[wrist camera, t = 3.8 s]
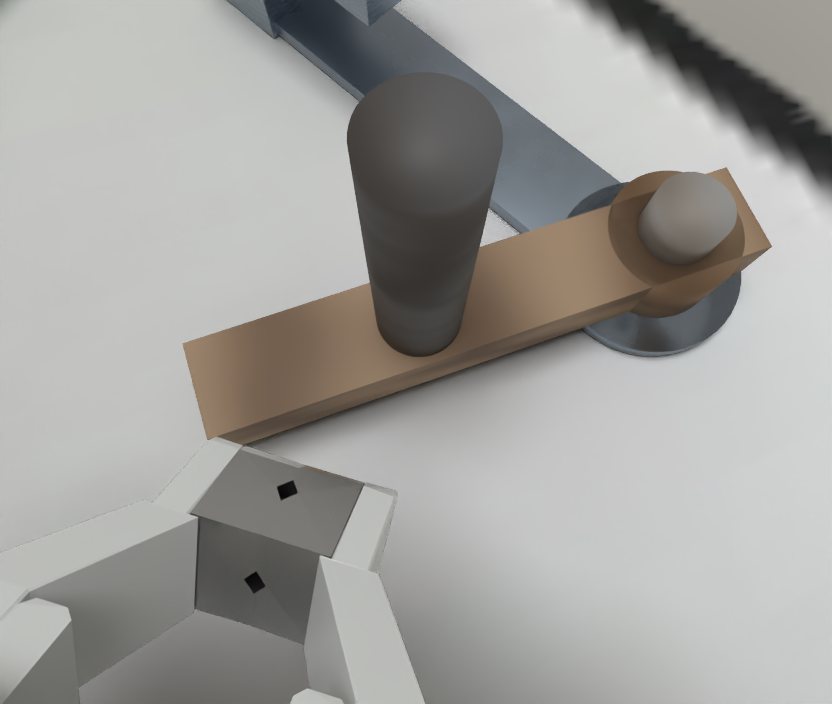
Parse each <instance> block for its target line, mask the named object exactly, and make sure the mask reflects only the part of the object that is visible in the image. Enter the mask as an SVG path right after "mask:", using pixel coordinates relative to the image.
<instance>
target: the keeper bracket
mask: <svg viewBox="0 0 832 704" xmlns="http://www.w3.org/2000/svg"><path fill="white" fill-rule="evenodd" d="M228 1H229V2H230V3H231V4H233V5H234V6H235V7H236V8H237V9H239V10H240V11H241V12H242V13H244V14H245V15H246V16H247V17H248V18H250V19H251V20H252V21H253V22H255V23H256V24H257V25H258V26H259V27H261V28H262V29H263V30H264V31H265V32H267V33H268V34H269V35H270V36H272V37H273V38H276V37H277V36H278V35H279V36H281V37H282V38H283V39H284V40H286V41H287V42H288V43H289V44H290V45H292V46H293V47H294V48H295V49H297V50H298V51H299V52H300V53H301V54H303V55H304V56H305V57H306V58H308V59H309V60H310V61H311V62H312V63H314V64H315V65H316V66H317V67H319V68H320V69H321V70H322V71H323V72H325V73H326V74H327V75H328V76H330V77H331V78H332V79H333V80H334V81H336V82H337V83H338V84H339V85H341V86H342V87H343V88H344V89H345V90H347V91H348V92H349V93H350V94H352V95H353V96H354V97H355V98H356V99H358V100H359V101H361V100H362V99H363V97H364V96H365V95H366V94H367V93H368V92H370V91H371V90H372V89H373V88H375V87H376V86H378V85H379V84H381V83H383V82H385V81H387V80H389V79H391V78H394V77H397V76H399V75H404V74H408V73H416V72H433V73H440V74H445V75H449V76H452V77H455V78H458V79H460V80H462V81H464V82H466V83H468V84H470V85H471V86H473V87H474V88H476V89H477V90H478V91H480V92H481V93H482V94H483V95H484V96H485V97H486V98H487V99H488V100H489V102H490V103H491V104H492V106H493V107H494V109H495V111H496V113H497V114H498V117H499V120H500V122H501V126H502V131H503V148H502V153H501V157H500V161H499V166H498V170H497V174H496V178H495V183H494V187H493V191H492V195H491V200H490V204H489V207H490V208H491V209H492V210H493V211H494V212H496V213H497V214H498V215H499V216H501V217H502V218H503V219H504V220H505V221H507V222H508V223H509V224H510V225H512V226H513V227H514V228H515V229H516V230H518V231H519V232H520V233H521V234H522V233H525V232H529V231H532V230H535V229H538V228H541V227H544V226H547V225H550V224H553V223H556V222H559V221H562V220H566V219H569V218H572V217H575V216H578V215H581V214H584V213H587V212H590V211H593V210H596V209H600V208H603V207H606V206H609V205H611V204H612V202H613V201H614V199H615V197H616V196H617V194H618V193H619V192H620V191H621V190H622V189H623V188H624V187H625V186H626V185H627V184H628V183H630V182H625V183H620V182H619V181H618V180H616V179H615V178H614V177H612V176H611V175H610V174H609V173H607V172H606V171H605V170H603V169H602V168H601V167H599V166H598V165H597V164H595V163H594V162H593V161H592V160H590V159H589V158H588V157H586V156H585V155H584V154H582V153H581V152H580V151H578V150H577V149H576V148H575V147H573V146H572V145H571V144H569V143H568V142H567V141H565V140H564V139H563V138H561V137H560V136H559V135H558V134H556V133H555V132H554V131H552V130H551V129H550V128H548V127H547V126H546V125H545V124H543V123H542V122H541V121H539V120H538V119H537V118H535V117H534V116H533V115H531V114H530V113H529V112H528V111H526V110H525V109H524V108H522V107H521V106H520V105H518V104H517V103H516V102H514V101H513V100H512V99H511V98H509V97H508V96H507V95H505V94H504V93H503V92H501V91H500V90H499V89H498V88H496V87H495V86H494V85H492V84H491V83H490V82H488V81H487V80H486V79H484V78H483V77H482V76H481V75H479V74H478V73H477V72H475V71H474V70H473V69H471V68H470V67H469V66H467V65H466V64H465V63H464V62H462V61H461V60H460V59H458V58H457V57H456V56H454V55H453V54H452V53H451V52H449V51H448V50H447V49H445V48H444V47H443V46H441V45H440V44H439V43H437V42H436V41H435V40H434V39H432V38H431V37H430V36H428V35H427V34H426V33H424V32H423V31H422V30H420V29H419V28H418V27H417V26H415V25H414V24H413V23H411V22H410V21H409V20H407V19H406V18H405V17H403V16H402V15H401V14H400V13H398V12H397V11H396V10H394V9H393V7H394V6H395V5H396V4H397V3H399V2H400V1H401V0H228ZM740 285H741V272H739V273H738V274H737V275H734V276H731V277H729V278H728V279H726V280H725V281H724V282H723V283H722V284H720V285H719V286H718V287H717V288H715V289H714V290H713V291H712V292H710V293H709V294H708V295H707V296H706V297H704V298H703V299H702V300H701V301H699V302H698V303H697V304H696V305H694V306H693V307H692V308H690V309H689V310H687V311H685V312H683V313H681V314H678V315H674V316H671V317H664V318H652V317H645V316H640V315H637V314H634V313H631V312H627V313H624V314H621V315H618V316H615V317H613V318H610V319H607V320H604V321H601V322H598V323H595V324H592V325H589V326H586V327H584V328H581V329H582V330H583V331H584V332H586V333H587V334H588V335H590V336H591V337H592V338H594V339H595V340H597V341H598V342H600V343H602V344H604V345H605V346H608V347H610V348H612V349H615V350H617V351H620V352H624V353H627V354H632V355H638V356H651V357H656V356H667V355H671V354H676V353H679V352H682V351H685V350H687V349H690V348H692V347H693V346H695V345H697V344H699V343H700V342H702V341H703V340H705V339H706V338H708V337H709V336H711V335H712V334H713V333H715V332H716V331H717V330H718V329H719V328H720V327H721V326H722V325H723V324H724V323H725V321H726V320H727V319H728V317H729V316H730V314H731V313H732V311H733V309H734V307H735V305H736V302H737V299H738V296H739V291H740Z"/></svg>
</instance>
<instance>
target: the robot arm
mask: <svg viewBox="0 0 832 704" xmlns="http://www.w3.org/2000/svg"><path fill="white" fill-rule="evenodd" d="M396 500H397V491H394V490H391V489H387V488H384V487H380V486H377V485H373V484H370V483H364V482H361V481H357V480H354V479H350V478H347V477H344V476H340V475H337V474H333V473H330V472H327V471H323V470H320V469H316V468H313V467H310V466H305V465H303V464H300V463H297V462H294V461H291V460H288V459H285V458H282V457H279V456H276V455H273V454H269V453H266V452H263V451H260V450H257V449H254V448H251V447H248V446H243V445H240V444H237V443H234V442H231V441H228V440H225V439H222V438H219V437H214V438H212V439H210V440H208V441H207V442H206V443H205V444H204V445H203V446H202V447H201V448H200V450H199V451H198V452H197V453H196V454H195V455H194V456H193V457H192V459H191V460H190V461H189V462H188V463H187V464H186V465H185V466H184V468H183V469H182V470H181V471H180V472H179V473H178V474H177V475H176V477H175V478H174V479H173V480H172V481H171V482H170V483H169V484H168V485H167V487H166V488H165V489H164V490H163V491H162V492H161V493H160V494H159V496H158V497H157V498H156V499H155V500H154V501H153V502H149V501H145V500H141V501H138V502H136V503H133V504H130V505H127V506H125V507H122V508H119V509H117V510H114V511H111V512H109V513H106V514H103V515H100V516H98V517H95V518H92V519H90V520H87V521H84V522H82V523H79V524H76V525H73V526H71V527H68V528H65V529H63V530H60V531H57V532H55V533H52V534H49V535H46V536H44V537H41V538H38V539H36V540H33V541H30V542H28V543H25V544H22V545H19V546H17V547H14V548H11V549H9V550H6V551H3V552H0V704H80V701H79V691H78V688H79V687H80V686H82V685H83V684H85V683H86V682H88V681H90V680H91V679H93V678H94V677H96V676H97V675H99V674H100V673H102V672H103V671H105V670H106V669H108V668H109V667H111V666H113V665H114V664H116V663H117V662H119V661H120V660H122V659H123V658H125V657H126V656H128V655H129V654H131V653H133V652H134V651H136V650H137V649H139V648H140V647H142V646H143V645H145V644H146V643H148V642H149V641H151V640H152V639H154V638H156V637H157V636H159V635H160V634H162V633H163V632H165V631H166V630H168V629H169V628H171V627H172V626H174V625H176V624H177V623H179V622H180V621H182V620H183V619H185V618H186V617H188V616H189V615H191V614H192V613H194V609H197V610H200V611H204V612H207V613H210V614H214V615H217V616H220V617H224V618H227V619H231V620H234V621H237V622H241V623H244V624H247V625H251V626H253V627H256V628H259V629H262V630H264V631H267V632H270V633H273V634H276V635H278V636H281V637H284V638H287V639H289V640H292V641H295V642H298V643H300V644H303V645H304V654H305V660H306V667H307V673H308V680H309V686H310V689H308V688H307V689H305V690H303V691H301V692H299V693H297V694H295V695H293V698H292V700H291V703H290V704H425V701H424V698H423V696H422V693H421V690H420V687H419V684H418V681H417V679H416V676H415V673H414V670H413V667H412V665H411V662H410V659H409V656H408V653H407V650H406V648H405V645H404V642H403V639H402V636H401V633H400V631H399V628H398V625H397V622H396V619H395V617H394V614H393V611H392V608H391V605H390V602H389V600H388V597H387V594H386V591H385V588H384V585H383V583H382V580H381V577H380V574H377V573H378V569H379V565H380V562H381V558H382V555H383V551H384V547H385V543H386V540H387V536H388V532H389V528H390V524H391V520H392V516H393V512H394V508H395V504H396Z"/></svg>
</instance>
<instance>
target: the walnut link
mask: <svg viewBox="0 0 832 704" xmlns="http://www.w3.org/2000/svg"><path fill="white" fill-rule="evenodd" d="M347 145H348V152H349V158H350V164H351V170H352V176H353V182H354V189H355V195H356V201H357V207H358V213H359V219H360V225H361V231H362V237H363V243H364V249H365V255H366V261H367V268H368V274H369V280H370V283H368V284H365V285H362V286H359V287H356V288H353V289H350V290H346V291H343V292H340V293H337V294H334V295H331V296H328V297H325V298H322V299H319V300H316V301H312V302H309V303H306V304H303V305H300V306H297V307H294V308H291V309H288V310H285V311H282V312H279V313H275V314H272V315H269V316H266V317H263V318H260V319H257V320H254V321H251V322H248V323H245V324H242V325H238V326H235V327H232V328H229V329H226V330H223V331H220V332H217V333H214V334H211V335H208V336H204V337H201V338H198V339H195V340H192V341H189V342H186V343H183V347H184V351H185V355H186V359H187V363H188V367H189V370H190V374H191V378H192V382H193V386H194V390H195V394H196V398H197V401H198V405H199V409H200V413H201V417H202V421H203V425H204V428H205V432H206V436H207V440H210V439H212V438H214V437H219V438H222V439H225V440H228V441H231V442H234V443H237V444H240V445H244V444H247V443H250V442H253V441H256V440H259V439H262V438H265V437H268V436H271V435H273V434H276V433H279V432H282V431H285V430H288V429H291V428H294V427H297V426H300V425H302V424H305V423H308V422H311V421H314V420H317V419H320V418H323V417H326V416H328V415H331V414H334V413H337V412H340V411H343V410H346V409H349V408H352V407H355V406H357V405H360V404H363V403H366V402H369V401H372V400H375V399H378V398H381V397H384V396H386V395H389V394H392V393H395V392H398V391H401V390H404V389H407V388H410V387H413V386H415V385H418V384H421V383H424V382H427V381H430V380H433V379H436V378H439V377H442V376H444V375H447V374H450V373H453V372H456V371H459V370H462V369H465V368H468V367H471V366H473V365H476V364H479V363H482V362H485V361H488V360H491V359H494V358H497V357H499V356H502V355H505V354H508V353H511V352H514V351H517V350H520V349H523V348H526V347H528V346H531V345H534V344H537V343H540V342H543V341H546V340H549V339H552V338H555V337H557V336H560V335H563V334H566V333H569V332H572V331H575V330H578V329H581V328H584V327H586V326H589V325H592V324H595V323H598V322H601V321H604V320H607V319H610V318H613V317H615V316H618V315H621V314H624V313H627V312H631V313H634V314H637V315H640V316H645V317H652V318H664V317H671V316H674V315H678V314H681V313H683V312H685V311H687V310H689V309H690V308H692V307H693V306H694V305H696V304H697V303H698V302H699V301H701V300H702V299H703V298H704V297H706V296H707V295H708V294H709V293H710V292H712V291H713V290H714V289H715V288H717V287H718V286H719V285H720V284H722V283H723V282H724V281H725V280H726V279H728V278H729V277H731V276H734V275H737V274H738V273H739V272H741V271H742V270H743V269H744V268H746V267H747V266H748V265H749V264H751V263H752V262H753V261H754V260H756V259H757V258H758V257H759V256H761V255H762V254H763V253H764V252H766V251H767V250H768V249H769V248H771V247H772V246H771V244H770V242H769V240H768V239H767V237H766V235H765V233H764V232H763V230H762V228H761V226H760V225H759V223H758V221H757V219H756V218H755V216H754V214H753V213H752V211H751V209H750V207H749V206H748V204H747V202H746V200H745V199H744V197H743V195H742V193H741V192H740V190H739V188H738V186H737V185H736V183H735V181H734V179H733V178H732V176H731V174H730V173H729V171H728V169H727V167H726V168H723V169H720V170H717V171H714V172H711V173H708V174H702V173H697V172H678V171H658V172H652V173H648V174H645V175H642V176H640V177H638V178H636V179H634V180H632V181H631V182H630V183H628V184H627V185H626V186H625V187H624V188H623V189H622V190H621V191H620V192H619V193H618V194H617V196H616V197H615V199H614V201H613V202H612V204H611V205H609V206H606V207H603V208H600V209H596V210H593V211H590V212H587V213H584V214H581V215H578V216H575V217H572V218H569V219H566V220H562V221H559V222H556V223H553V224H550V225H547V226H544V227H541V228H538V229H535V230H532V231H529V232H525V233H522V234H519V235H516V236H513V237H510V238H507V239H504V240H501V241H498V242H495V243H491V244H488V245H485V246H482V247H479V246H480V242H481V238H482V234H483V229H484V225H485V221H486V217H487V212H488V208H489V204H490V200H491V195H492V191H493V187H494V183H495V178H496V174H497V170H498V166H499V161H500V157H501V153H502V148H503V131H502V126H501V122H500V120H499V117H498V114H497V113H496V111H495V109H494V107H493V106H492V104H491V103H490V102H489V100H488V99H487V98H486V97H485V96H484V95H483V94H482V93H481V92H480V91H478V90H477V89H476V88H474V87H473V86H471V85H470V84H468V83H466V82H464V81H462V80H460V79H458V78H455V77H452V76H449V75H445V74H440V73H433V72H416V73H408V74H404V75H399V76H397V77H394V78H391V79H389V80H387V81H385V82H383V83H381V84H379V85H378V86H376V87H375V88H373V89H372V90H371V91H370V92H368V93H367V94H366V95H365V96H364V97H363V99H362V100H361V101H360V102H359V104H358V105H357V106H356V108H355V110H354V112H353V114H352V116H351V119H350V122H349V125H348V131H347Z"/></svg>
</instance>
